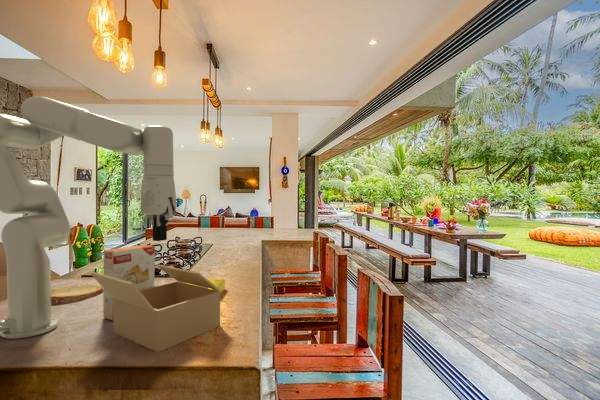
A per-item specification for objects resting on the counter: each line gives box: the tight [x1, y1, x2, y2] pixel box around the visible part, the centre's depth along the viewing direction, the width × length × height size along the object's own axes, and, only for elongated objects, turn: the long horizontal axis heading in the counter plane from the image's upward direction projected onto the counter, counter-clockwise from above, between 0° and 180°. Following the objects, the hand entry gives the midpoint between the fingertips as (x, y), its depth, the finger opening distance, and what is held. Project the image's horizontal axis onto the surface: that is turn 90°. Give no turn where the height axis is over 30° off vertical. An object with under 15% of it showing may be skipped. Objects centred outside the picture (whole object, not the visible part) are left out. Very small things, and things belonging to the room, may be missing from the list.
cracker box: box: [102, 244, 156, 322], centre depth 110 cm, size 14×6×21 cm, turn 148°
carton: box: [113, 280, 221, 353], centre depth 97 cm, size 20×20×10 cm
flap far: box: [155, 263, 219, 291], centre depth 102 cm, size 10×19×1 cm
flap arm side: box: [89, 271, 156, 312], centre depth 86 cm, size 10×19×1 cm
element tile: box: [187, 278, 226, 296], centre depth 131 cm, size 15×15×5 cm
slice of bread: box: [51, 284, 103, 306], centre depth 126 cm, size 18×18×4 cm
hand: (159, 240), depth 94 cm, fingers closed
